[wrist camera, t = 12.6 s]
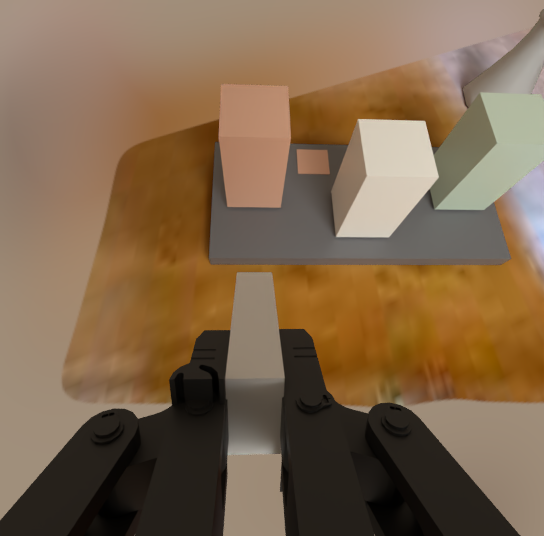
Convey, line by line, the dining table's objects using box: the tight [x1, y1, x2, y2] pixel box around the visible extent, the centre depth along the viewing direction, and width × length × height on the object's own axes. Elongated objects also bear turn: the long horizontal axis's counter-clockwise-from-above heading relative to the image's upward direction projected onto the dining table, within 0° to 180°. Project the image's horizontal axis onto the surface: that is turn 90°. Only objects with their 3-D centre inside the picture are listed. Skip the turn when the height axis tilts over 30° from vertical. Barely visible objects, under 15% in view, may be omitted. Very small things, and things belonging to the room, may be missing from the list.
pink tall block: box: [219, 84, 291, 208], centre depth 28 cm, size 5×5×9 cm
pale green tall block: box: [430, 92, 544, 210], centre depth 30 cm, size 5×5×9 cm
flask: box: [463, 9, 544, 107], centre depth 37 cm, size 7×7×10 cm
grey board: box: [209, 142, 511, 265], centre depth 34 cm, size 28×13×2 cm, turn 91°
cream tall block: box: [331, 119, 439, 237], centre depth 28 cm, size 5×5×9 cm
